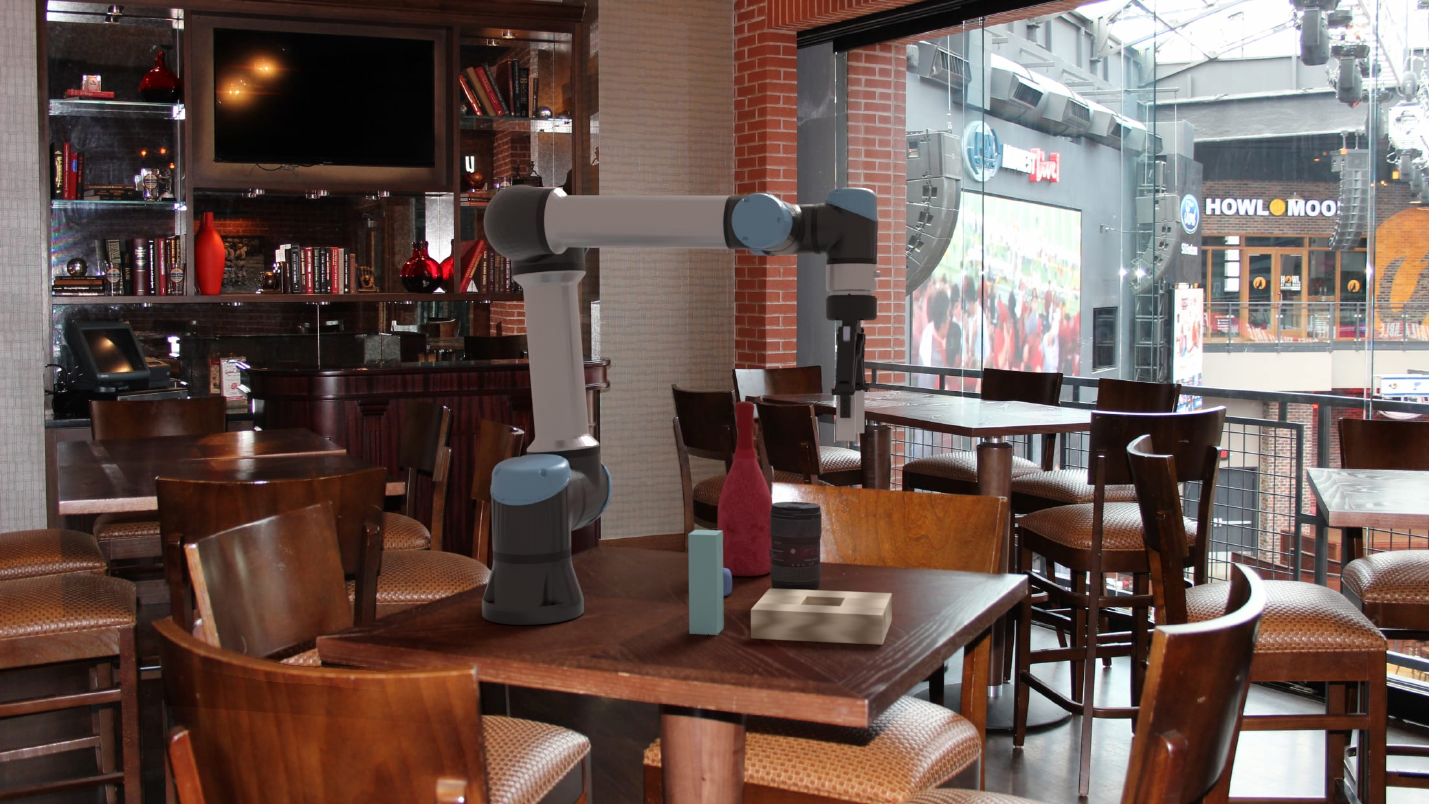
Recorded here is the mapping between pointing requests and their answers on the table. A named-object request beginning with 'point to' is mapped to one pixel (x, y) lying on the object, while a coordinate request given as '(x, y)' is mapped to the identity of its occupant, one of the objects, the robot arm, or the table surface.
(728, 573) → the decorative dice
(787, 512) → the camera lens
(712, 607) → the peg
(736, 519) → the wine bottle
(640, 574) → the table surface
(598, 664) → the table surface
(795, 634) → the socket block
